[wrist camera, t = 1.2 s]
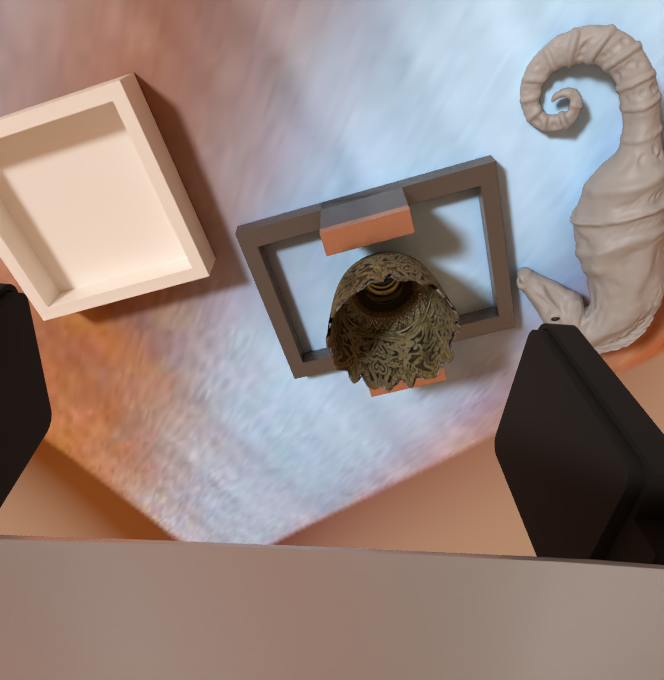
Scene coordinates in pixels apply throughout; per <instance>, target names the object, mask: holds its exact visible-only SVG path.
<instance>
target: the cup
mask: <svg viewBox="0 0 664 680" xmlns="http://www.w3.org/2000/svg"><path fill="white" fill-rule="evenodd" d="M388 277H391V278H393V279H392V281H391V282H390V283H388V284H386V285H383V286H379V285H376V284H374V283H379V282H386V280H387V278H388ZM458 320H459V315H458V313H457V311H456V309H455V308H454V306H453V305H452V304H451V302H450V301H449V299H448V297H447V296H446V294H445V292H444V291H443V289H442V288H441V286H440V285H439V283H438V282H437V280H436V279H435V277H434V276H433V275H432V274H431V272H430V271H429V270H428V269H427V268H426V267H425V266H424V265H422V264H421V263H420V262H419V261H417V260H416V259H414V258H412V257H410V256H407V255H405V254H401V253H396V252H380V253H375V254H371V255H369V256H366V257H364V258H362V259H361V260H359V261H358V262H356V263H355V264H354V265H352V266H351V267H350V268H349V269H348V270H347V272H346V273H345V274H344V276H343V277H342V279H341V281H340V282H339V285H338V287H337V290H336V293H335V296H334V299H333V304H332V308H331V313H330V319H329V324H328V332H327V336H326V345H327V348H329V350H330V357H331V360H332V363H333V365H334V367H335V368H336V369H337V370H345V371H348V373H349V378H350V380H351V381H352V382H353V383H356V382H358V381H359V380H360V378H361V377H362V378H363V380H364V382H365V384H366V385H367V386H368V387H369V388H370V389H373V390H376V389H379V388H380V387H382V388H384V389H385V390H386V391H388V392H389V391H391V390H392V389H393V388H394V387H395V385H398V384H399V381H400V380H401V381H402V382H403V383H404V384H405V385H407V386H408V387H409V388H413V386H414V384H415V381H416V379H418V378H423V379H425V380H426V379H432V378H436V377H437V376H438V375H439V373H440V371H441V369H442V367H443V366H444V364H445V363H449V362H451V360H452V359H453V356H454V352H453V350H452V346H451V344H452V341H453V340H454V339H455V331H458V332H459V333H460V331H461V330H460V325H459V323H458ZM360 375H361V376H360Z"/></svg>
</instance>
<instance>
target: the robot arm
mask: <svg viewBox="0 0 664 680" xmlns="http://www.w3.org/2000/svg"><path fill="white" fill-rule="evenodd" d="M51 415H52V413H51V407H50V402H49V397H48V392H47V388H46V383H45V378H44V373H43V368H42V364H41V359H40V354H39V349H38V344H37V340H36V335H35V330H34V325H33V320H32V316H31V311H30V306H29V302H28V298H27V297H26V295H25V294H24V293H18V291H17V289H16V287H15V286H13V285H12V284H1V283H0V507H1V506H2V504H3V502H4V501H5V499H6V497H7V496H8V494H9V493H10V491H11V489H12V488H13V486H14V485H15V483H16V481H17V480H18V478H19V477H20V475H21V473H22V472H23V470H24V468H25V467H26V465H27V463H28V462H29V460H30V459H31V457H32V455H33V454H34V452H35V450H36V449H37V447H38V446H39V444H40V442H41V441H42V439H43V438H44V436H45V434H46V433H47V431H48V429H49V427H50V423H51ZM495 453H496V456H497V458H498V461H499V463H500V465H501V468H502V471H503V473H504V475H505V478H506V481H507V483H508V486H509V488H510V491H511V493H512V496H513V498H514V501H515V503H516V506H517V508H518V511H519V513H520V516H521V518H522V520H523V523H524V526H525V528H526V531H527V533H528V536H529V538H530V540H531V543H532V545H533V548H534V550H535V553H536V555H537V557H531V556H511V555H510V556H509V555H489V554H467V553H445V552H424V551H402V550H380V549H356V548H333V547H309V546H285V545H284V546H283V545H261V544H235V543H210V542H185V541H159V540H130V539H101V538H73V537H44V536H16V535H0V680H664V434H663V433H662V432H661V430H660V429H659V428H658V427H657V426H656V424H655V423H654V422H653V420H652V419H651V418H650V417H649V416H648V414H647V413H646V412H645V411H644V409H643V408H642V407H641V406H640V404H639V403H638V402H637V401H636V399H635V398H634V397H633V396H632V395H631V393H630V392H629V391H628V390H627V388H625V386H624V385H623V384H622V382H621V381H620V380H619V378H618V377H617V376H616V375H615V373H614V372H613V371H612V370H611V369H610V367H609V366H608V365H607V364H606V362H605V361H604V360H603V359H602V357H601V356H600V355H599V354H598V352H597V351H596V350H595V349H594V347H593V346H592V345H591V344H590V343H589V341H588V340H587V339H586V338H585V336H584V335H583V334H582V333H581V331H580V330H579V329H578V328H577V327H576V326H575V325H564V324H550V323H544V324H542V325H541V326H540V327H539V329H538V330H532V331H531V332H530V333H529V336H528V338H527V341H526V344H525V347H524V350H523V353H522V356H521V360H520V363H519V366H518V369H517V372H516V375H515V378H514V381H513V384H512V387H511V390H510V393H509V396H508V399H507V402H506V405H505V408H504V412H503V415H502V418H501V421H500V424H499V427H498V430H497V433H496V437H495Z"/></svg>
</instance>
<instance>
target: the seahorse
mask: <svg viewBox="0 0 664 680" xmlns="http://www.w3.org/2000/svg"><path fill="white" fill-rule="evenodd" d="M576 64H587V65H590V64H594V65H597V66H599V67H601V69H602V71H604V72H608V73H609V74H610V75H611V77H612V78H613V80H614V82H615V83H616V86H615V91H616V92H617V93H618V95H619V100H620V107H619V108H620V111H621V113H622V119H623V129H622V134H621V137H620V145H619V148H618V150H617V151H616V152H615V153H614V154H613V155H612V156H611V157H610V158H609V159H608V160H607V161H605V162H604V163H603V164H602V165H601V166H600V167H599V168H598V169H597V170H596V171H595V172H594V174H593V175H592V176H591V177H590V178H589V179H588V180H587V181H586V183H585V184H584V187H583V190H582V195H581V197H580V199H579V202H578V204H577V206H576V207H575V209H574V210H573V211H572V215H571V217H570V219H571V220H570V222H571V223H572V224H573V225H574V237H575V241H576V250H575V255H576V256H577V257H578V259H579V260H580V263H581V267H582V270H583V272H584V273H585V274H586V275H587V285H588V289H589V292H590V297H591V299H590V304H589V306H587V307H584V303H583V299H582V296H581V294H579V293H578V292H576V291H573V290H569V289H567V288H565V287H564V286H562V285H561V284H559V283H557V282H555V281H553V280H550V279H548V278H546V277H543V276H541V275H540V274H538V273H535V272H533V271H532V270H531V269H530V268H527V267H523V268H521V269H519V270H518V273H517V280H516V284H517V287H518V288H519V289H521V290H522V291H523V292H524V293H525V295H526V296H527V298H528V299H529V300H530V301H531V303H532V304H533V306H534V307H535V309H536V310H537V312H538V314H539V315H540V317H541V319H542V321H543V323H550V324H564V325H575V326H576V327H577V328H578V329H579V330H580V331H581V333H582V334H583V335H584V336H585V338H586V339H587V340H588V341H589V343H590V344H591V345H592V346H593V347H594V349H595V350H596V351H597V352H598V354H602V353H606V352H610V351H615V350H619V349H621V348H622V347H628V346H629V345H630V344H631V343H633V342H634V341H635V340H637V339H638V338H639V337H640V336H642V335H643V333H645V332H646V329H647V327H649V326H650V324H651V322H652V321H653V319H654V314H655V313H656V312H657V310H658V308H659V307H660V306H661V304H662V298H663V296H664V150H663V148H662V142H661V132H662V129H663V126H662V124H661V121H660V99H661V96H662V95H661V93H660V92H659V90H658V85H657V81H656V71H655V69H654V68H653V67H652V65H651V63H650V61H649V59H648V57H647V56H646V54H645V52H644V51H643V49H642V43H641V42H640V41H636V40H634V39H633V38H632V37H631V36H630V35H628V34H627V33H625V32H623V31H621V30H619V29H617V28H616V26H615V25H613V24H611V25H607V26H604V25H587V26H583V27H578V28H573V29H572V30H570V31H568V32H566V33H564V34H561V35H558V36H556V37H555V38H554V39H552V40H551V41H550V42H549V43H548V44H547V45H545V46H544V47H543V48H542V49H541V50H540V51H539V52H538V53H537V55H536V56H535V57H534V58H533V59H532V60H531V62H530V63H529V65H528V66H527V68H526V71H525V73H524V76H523V78H522V82H521V87H520V103H521V107H522V109H523V111H524V115H525V117H526V120H527V122H529V123H530V124H531V125H533V126H534V127H536V128H537V129H540V130H542V131H543V132H556V131H559V130H562V129H566V130H567V129H569V128H570V126H571V125H572V124H573V123H574V122H575V121H576V120H577V118H578V115H579V113H580V111H581V109H582V108H583V103H582V96H581V94H580V93H579V91H578V90H577V89H574V88H563V89H561V90H559V91H558V92H556V93H555V94H554V95H553V96H552V100H551V102H554V101H555V100H557V99H559V98H562V97H566V98H567V99H569V100H570V105H569V109H568V110H567V111H560V112H559V113H558V114H554V115H552V114H546V113H545V112H544V111H543V109H542V106H541V105H540V103H539V98H540V96H541V89H542V86H543V84H544V82H546V81H547V79H548V78H549V76H550V74H551V73H552V72H556V71H557V70H558V69H560V68H562V67H569V68H571V67H573V66H574V65H576Z"/></svg>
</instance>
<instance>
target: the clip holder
mask: <svg viewBox="0 0 664 680" xmlns="http://www.w3.org/2000/svg"><path fill="white" fill-rule="evenodd" d="M474 187H477V188H478V195H479V202H480V209H481V216H482V223H483V230H484V237H485V244H486V251H487V258H488V265H489V272H490V279H491V286H492V293H493V300H494V308H489V309H485V310H481V311H477V312H473V313H469V314H465V315H460V316H459V320H458V323H459V325H460V330H461V331H460V333H459V332H458V331H455V339H454V340H453V341H452V342H454V341H458V340H462V339H467V338H471V337H475V336H479V335H484V334H488V333H492V332H496V331H501V330H505V329H509V328H513V327H515V319H514V310H513V302H512V294H511V286H510V277H509V269H508V261H507V252H506V244H505V236H504V228H503V219H502V211H501V203H500V194H499V186H498V178H497V170H496V161H495V160H494V159H493V158H492V157H491V155H489V156H486V157H482V158H479V159H475V160H472V161H468V162H465V163H461V164H457V165H454V166H450V167H447V168H443V169H440V170H436V171H433V172H429V173H426V174H422V175H418V176H415V177H411V178H408V179H404V180H401V181H397V182H394V183H390V184H386V185H383V186H379V187H376V188H372V189H369V190H365V191H362V192H358V193H354V194H351V195H347V196H344V197H340V198H337V199H333V200H330V201H326V202H322V203H319V204H315V205H312V206H308V207H305V208H301V209H298V210H294V211H291V212H287V213H283V214H280V215H276V216H273V217H269V218H266V219H262V220H259V221H255V222H251V223H248V224H244V225H241V226H238V227H237V230H236V233H235V234H236V237H237V239H238V242H239V244H240V247H241V249H242V251H243V254H244V256H245V259H246V261H247V264H248V266H249V268H250V271H251V273H252V276H253V278H254V281H255V283H256V286H257V288H258V290H259V293H260V295H261V298H262V300H263V303H264V305H265V307H266V310H267V312H268V315H269V317H270V320H271V322H272V325H273V327H274V329H275V332H276V334H277V337H278V339H279V342H280V344H281V346H282V349H283V351H284V354H285V356H286V359H287V361H288V364H289V366H290V368H291V371H292V373H293V376H294V378H295V379H296V378H301V377H305V376H309V375H313V374H318V373H322V372H326V371H330V370H335V369H336V368H335V367H334V365H333V363H332V360H331V357H330V350H329V348H324V349H320V350H315V351H311V352H307V353H303V351H302V348H301V346H300V343H299V341H298V338H297V336H296V333H295V330H294V328H293V325H292V323H291V320H290V317H289V315H288V312H287V310H286V307H285V305H284V302H283V299H282V297H281V294H280V292H279V289H278V286H277V284H276V281H275V279H274V276H273V274H272V271H271V268H270V266H269V263H268V261H267V258H266V255H265V253H264V250H263V248H262V245H266V244H270V243H273V242H277V241H281V240H284V239H288V238H292V237H295V236H299V235H303V234H306V233H310V232H314V231H317V230H320V236H321V240H322V243H323V246H324V249H325V252H326V255H327V256H329V255H333V254H337V253H341V252H344V251H348V250H352V249H356V248H359V247H363V246H367V245H371V244H374V243H378V242H382V241H386V240H389V239H393V238H397V237H401V236H404V235H408V234H412V233H415V232H414V227H413V222H412V218H411V213H410V209H409V206H408V205H412V204H416V203H419V202H423V201H427V200H430V199H434V198H437V197H441V196H445V195H448V194H452V193H456V192H459V191H463V190H467V189H470V188H474ZM444 380H447V379H446V375H445V370H444V366H443V367H442V369H441V371H440V373H439V375H438V376H437V377H436V378H432V379H426V380H425V379H423V378H418V379H416V381H415V384H414V386H413V387H417V386H422V385H426V384H431V383H435V382H440V381H444ZM404 389H409V387H408V386H407V385H405V384H404V383H403V382H402V381H401V380H400V381H399V384H398V385H395V387H394V388H393V389H392V390H391V391H389V392H388V391H386V390H385V389H384V388H382V387H380V388H379V389H376V390H373V389H370V388H369V390H370V393H371V396H372V397H373V396H378V395H382V394H386V393H391V392H395V391H400V390H404Z"/></svg>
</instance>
